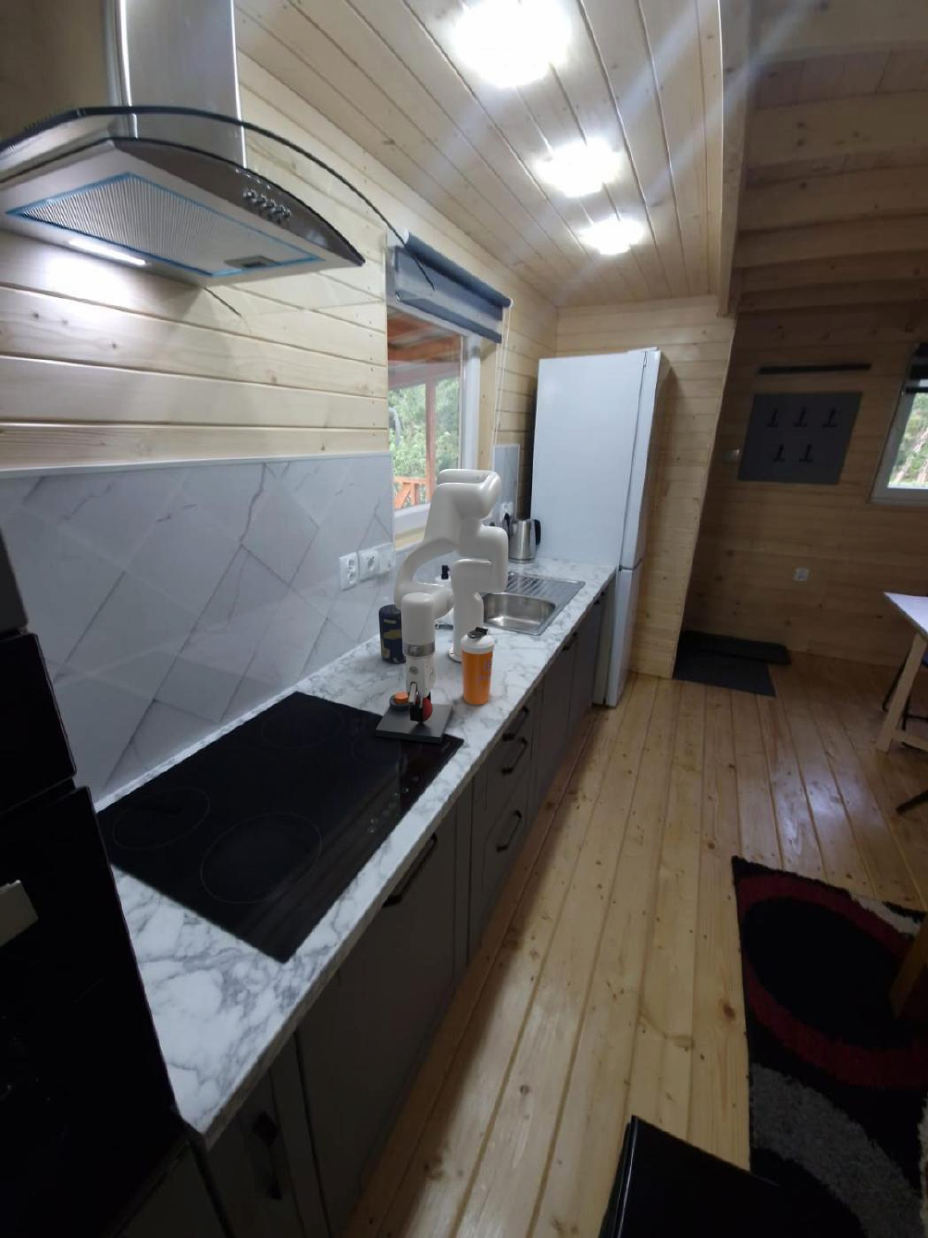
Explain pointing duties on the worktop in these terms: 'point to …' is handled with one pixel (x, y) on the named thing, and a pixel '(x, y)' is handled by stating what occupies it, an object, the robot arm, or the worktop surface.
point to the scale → (414, 723)
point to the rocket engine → (446, 619)
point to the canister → (391, 634)
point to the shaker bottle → (477, 665)
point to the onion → (425, 708)
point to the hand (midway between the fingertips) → (420, 712)
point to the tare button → (401, 697)
